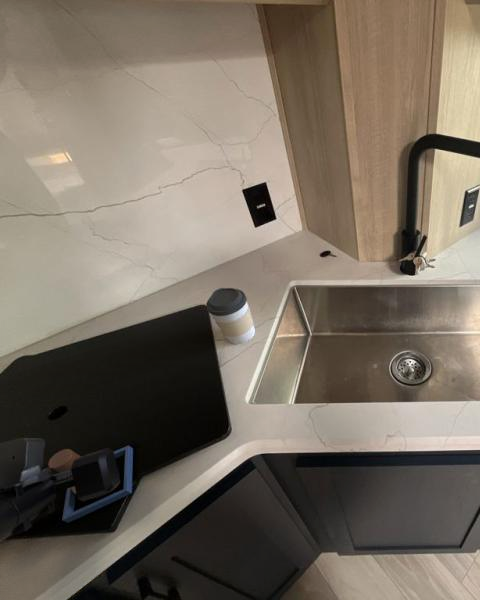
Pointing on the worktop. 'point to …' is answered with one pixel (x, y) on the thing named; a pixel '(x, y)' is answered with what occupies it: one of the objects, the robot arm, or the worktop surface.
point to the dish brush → (65, 463)
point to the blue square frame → (70, 497)
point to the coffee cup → (231, 314)
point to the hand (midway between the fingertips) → (76, 468)
